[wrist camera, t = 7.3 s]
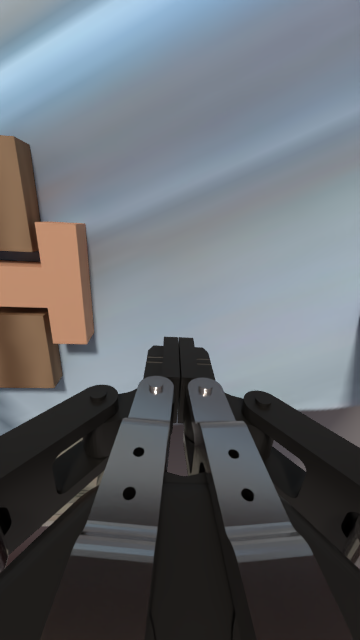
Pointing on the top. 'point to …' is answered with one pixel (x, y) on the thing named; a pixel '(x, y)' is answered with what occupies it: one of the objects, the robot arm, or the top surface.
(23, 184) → the slot nest
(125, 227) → the top surface
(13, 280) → the t block
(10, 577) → the robot arm
